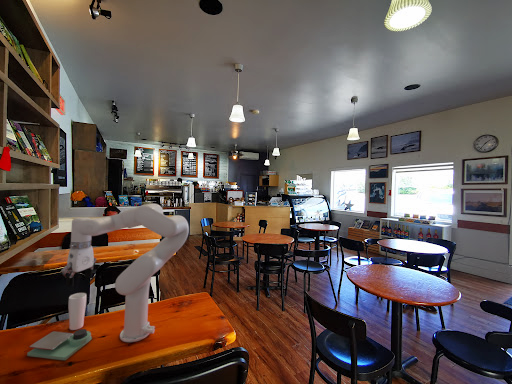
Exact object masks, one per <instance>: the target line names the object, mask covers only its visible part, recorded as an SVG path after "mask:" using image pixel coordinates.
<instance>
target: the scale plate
mask: <svg viewBox="0 0 512 384" xmlns="http://www.w3.org/2000/svg"><path fill="white" fill-rule="evenodd" d="M73 335H74V332H63V331H54V330H53V331H51V332H49V333H48V334H47V335H45V336H43V337H42V338H40V339H38V340H37V341H35V342H34V343H32V344H31V345H28V348H29V349H34V348H38V349H46V350H53V349H55V348H56V347H58V346H59V345H60V344H62V343H63V342H65V341H66V340H67V339H69V338H70V337H72V336H73Z"/></svg>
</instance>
